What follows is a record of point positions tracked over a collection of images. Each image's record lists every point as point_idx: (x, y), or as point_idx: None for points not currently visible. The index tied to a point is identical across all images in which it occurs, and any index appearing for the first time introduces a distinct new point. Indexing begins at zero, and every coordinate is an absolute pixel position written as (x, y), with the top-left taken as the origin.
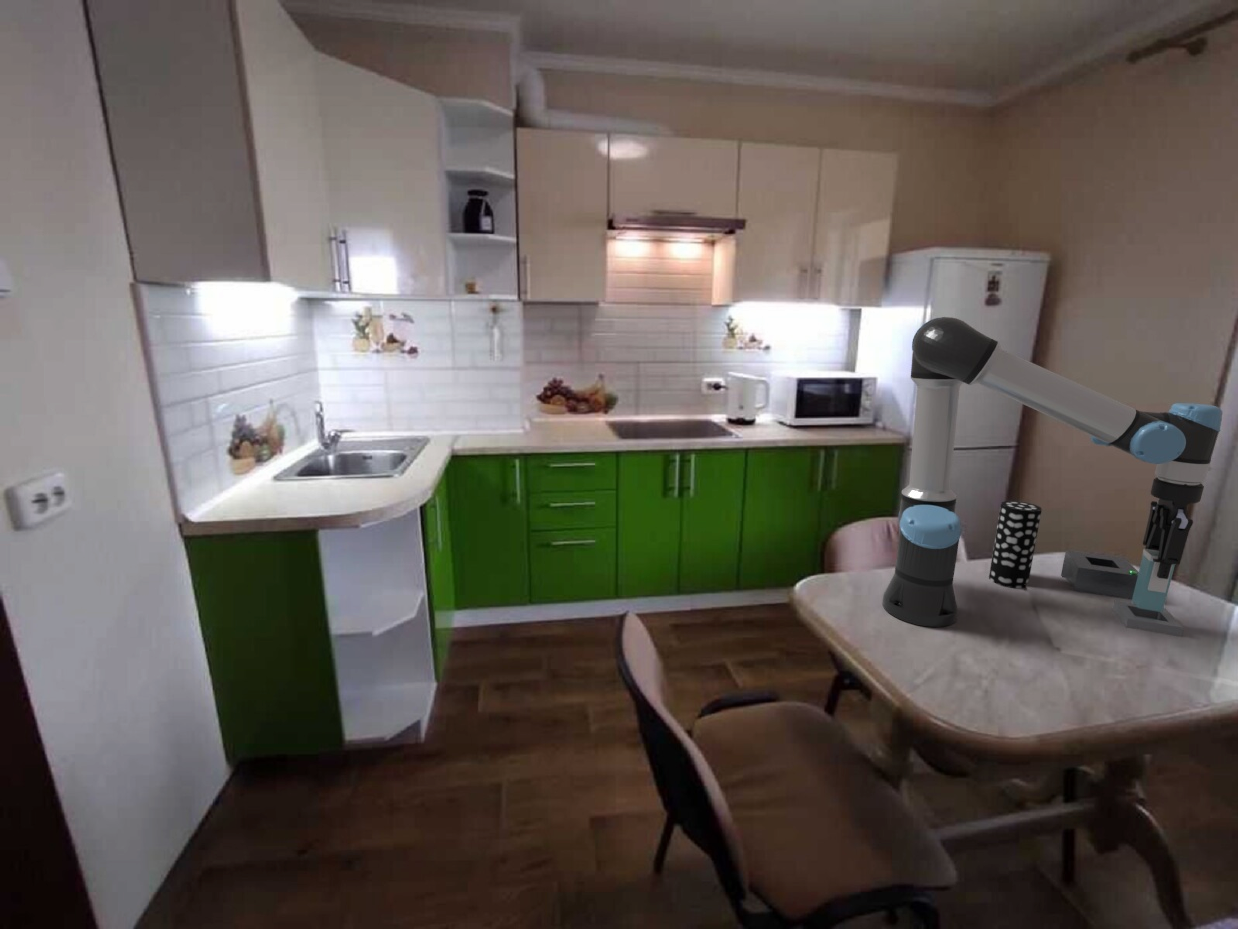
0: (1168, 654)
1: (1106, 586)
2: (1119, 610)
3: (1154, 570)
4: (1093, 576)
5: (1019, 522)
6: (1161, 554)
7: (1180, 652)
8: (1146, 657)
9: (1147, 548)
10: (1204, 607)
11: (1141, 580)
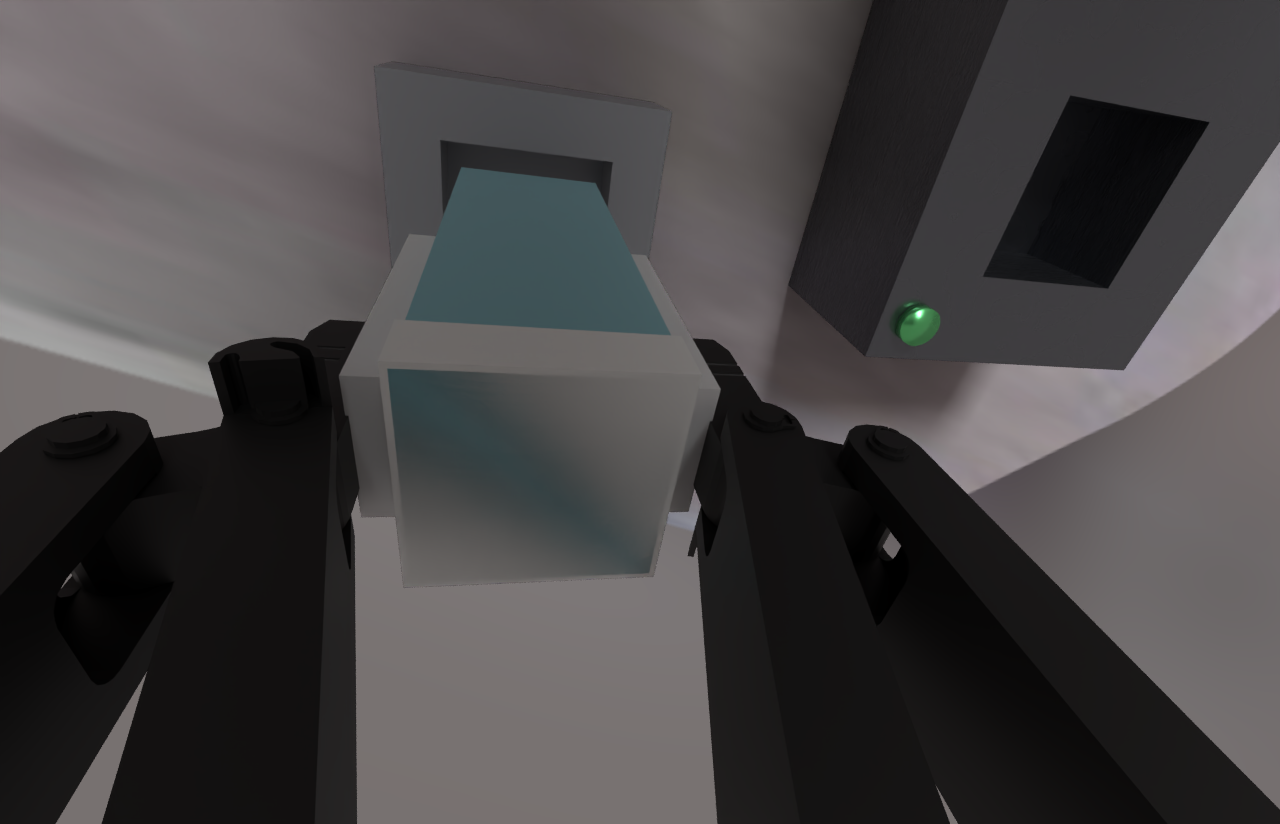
0: (175, 186)
1: (872, 156)
2: (548, 90)
3: (370, 320)
4: (941, 70)
5: None
6: (209, 478)
7: (253, 260)
8: (6, 20)
9: (742, 424)
10: None
11: (523, 229)
